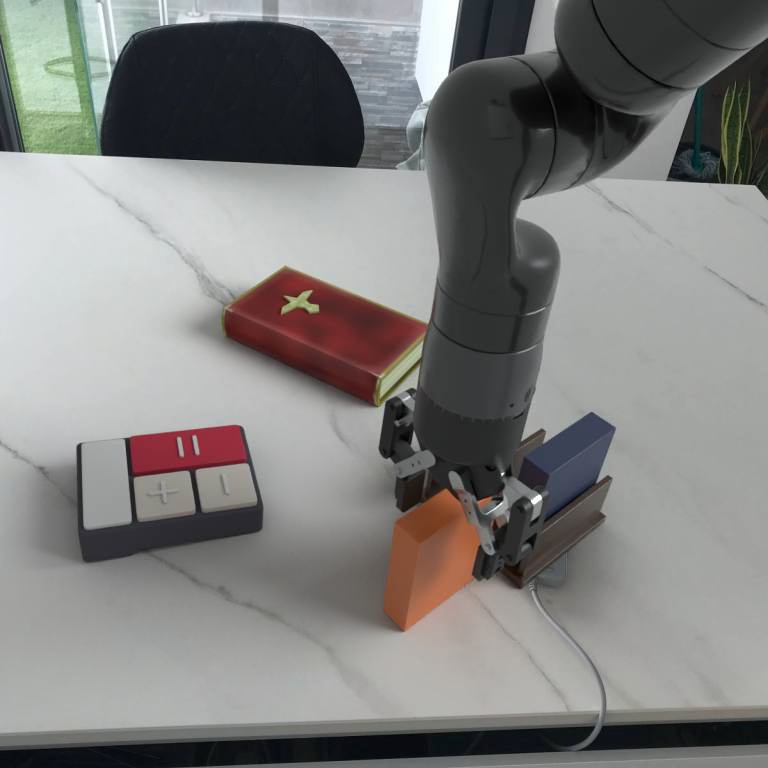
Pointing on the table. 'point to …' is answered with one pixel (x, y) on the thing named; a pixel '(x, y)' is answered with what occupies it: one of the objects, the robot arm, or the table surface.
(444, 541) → the orange book
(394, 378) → the hardcover book
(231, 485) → the calculator
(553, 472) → the navy book
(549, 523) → the book rack
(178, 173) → the table surface
